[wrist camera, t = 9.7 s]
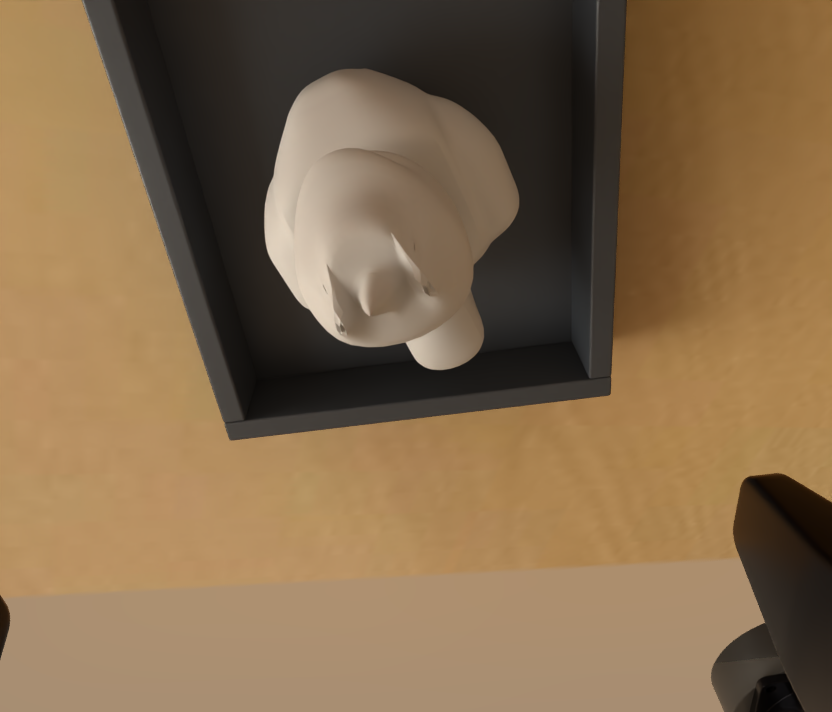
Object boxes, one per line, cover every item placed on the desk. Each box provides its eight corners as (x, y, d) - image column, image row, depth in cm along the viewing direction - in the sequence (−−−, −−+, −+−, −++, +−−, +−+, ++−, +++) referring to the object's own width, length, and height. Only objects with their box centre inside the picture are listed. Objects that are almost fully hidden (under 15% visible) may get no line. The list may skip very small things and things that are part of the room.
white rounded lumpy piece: (436, 2, 15) (483, 60, 8) (541, 257, 18) (639, 454, 11) (224, 117, 16) (101, 256, 9) (359, 337, 19) (345, 563, 12)
